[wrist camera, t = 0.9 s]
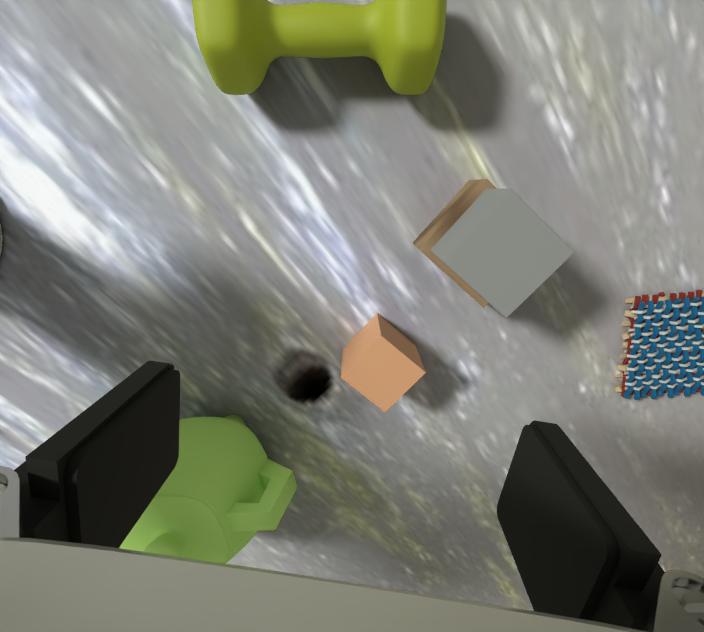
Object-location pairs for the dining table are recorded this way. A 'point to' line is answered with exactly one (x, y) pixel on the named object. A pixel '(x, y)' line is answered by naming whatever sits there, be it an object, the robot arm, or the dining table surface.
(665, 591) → the robot arm
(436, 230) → the tower base
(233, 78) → the dumbbell
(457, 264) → the tower top
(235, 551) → the teapot
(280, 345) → the dining table surface
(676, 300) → the woven mat
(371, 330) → the terracotta block
